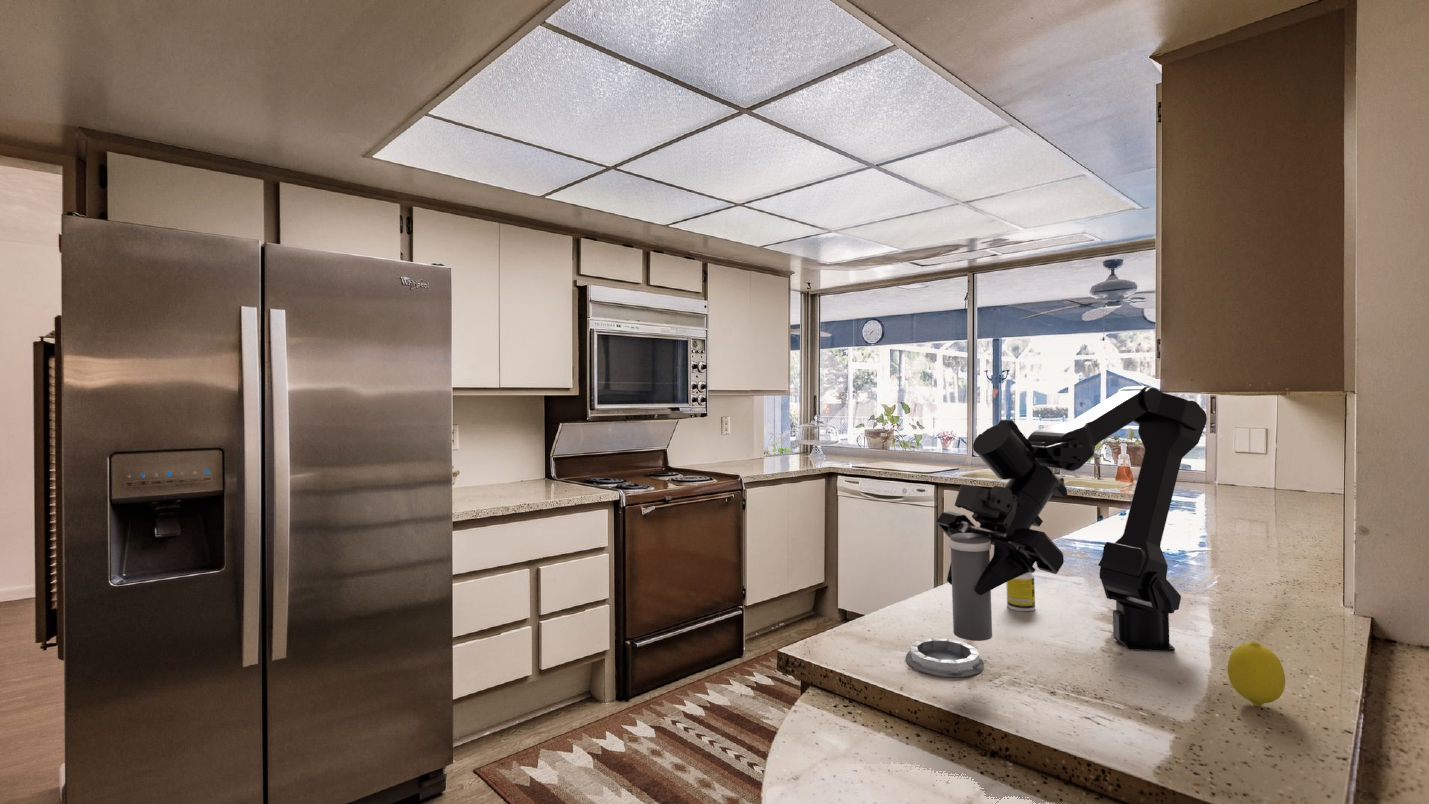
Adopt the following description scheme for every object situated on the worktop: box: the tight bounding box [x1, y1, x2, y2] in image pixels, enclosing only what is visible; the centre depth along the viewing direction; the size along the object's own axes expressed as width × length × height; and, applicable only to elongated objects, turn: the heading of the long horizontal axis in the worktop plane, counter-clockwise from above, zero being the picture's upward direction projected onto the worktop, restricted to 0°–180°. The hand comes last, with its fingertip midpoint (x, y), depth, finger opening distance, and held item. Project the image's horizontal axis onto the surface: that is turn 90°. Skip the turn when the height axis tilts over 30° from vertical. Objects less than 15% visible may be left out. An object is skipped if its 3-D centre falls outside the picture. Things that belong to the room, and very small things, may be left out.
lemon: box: [1227, 641, 1286, 707], centre depth 82 cm, size 6×6×8 cm
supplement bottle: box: [1005, 572, 1036, 612], centre depth 121 cm, size 5×5×8 cm
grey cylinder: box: [948, 533, 993, 642], centre depth 90 cm, size 5×5×14 cm
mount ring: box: [905, 637, 985, 679], centre depth 98 cm, size 11×11×2 cm
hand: (963, 587), depth 90 cm, fingers closed on grey cylinder, 5 cm apart
